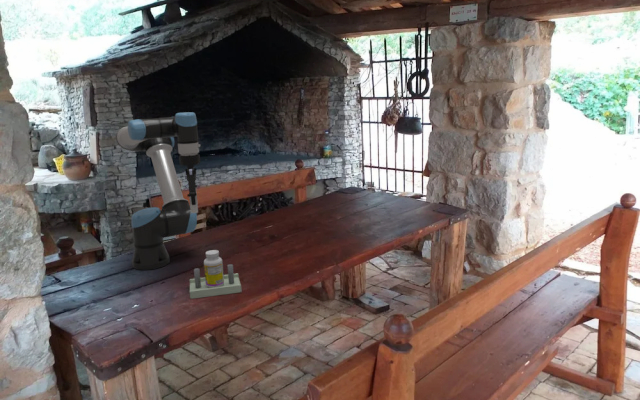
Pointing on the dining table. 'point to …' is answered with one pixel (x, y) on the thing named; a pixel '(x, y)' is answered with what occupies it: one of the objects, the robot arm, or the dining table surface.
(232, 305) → the dining table surface
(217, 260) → the supplement bottle
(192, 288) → the tray
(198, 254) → the dining table surface
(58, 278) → the dining table surface
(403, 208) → the dining table surface
